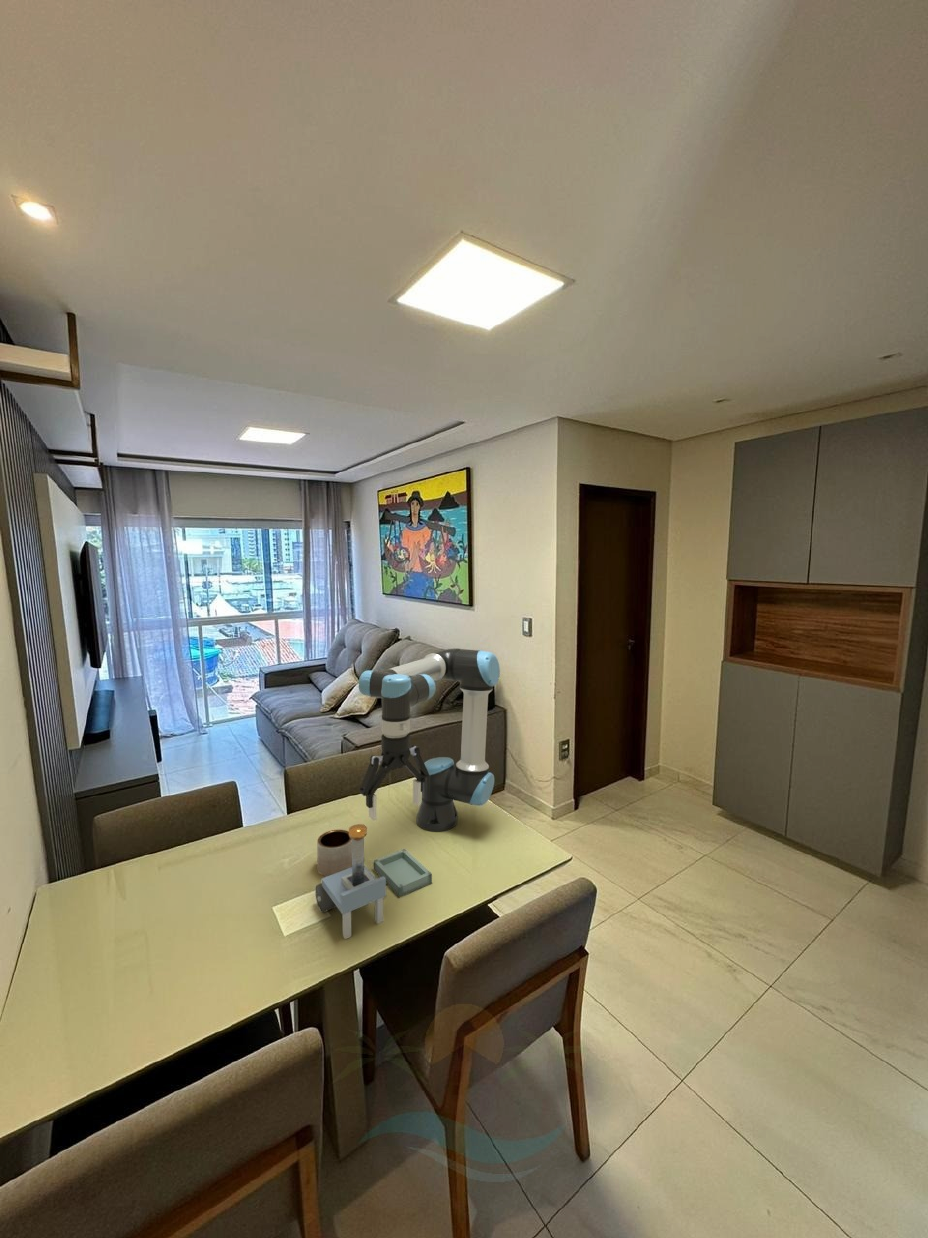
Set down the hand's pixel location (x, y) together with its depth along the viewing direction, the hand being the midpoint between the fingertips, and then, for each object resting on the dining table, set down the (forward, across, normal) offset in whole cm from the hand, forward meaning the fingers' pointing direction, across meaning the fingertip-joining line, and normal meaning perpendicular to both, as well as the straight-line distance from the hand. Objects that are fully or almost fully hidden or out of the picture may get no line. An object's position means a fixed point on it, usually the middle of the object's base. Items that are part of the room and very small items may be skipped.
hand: (395, 811), depth 132 cm
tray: (+28, +9, +11) cm, 32 cm away
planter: (+28, -5, +28) cm, 40 cm away
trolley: (+28, -10, +6) cm, 31 cm away
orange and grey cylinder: (+19, -9, +4) cm, 22 cm away
